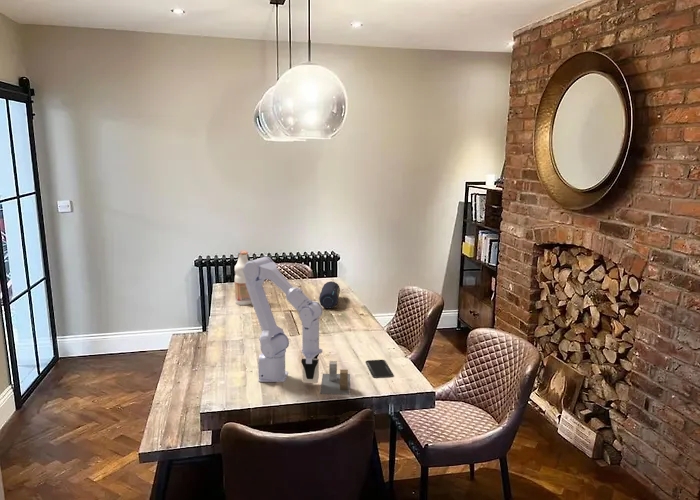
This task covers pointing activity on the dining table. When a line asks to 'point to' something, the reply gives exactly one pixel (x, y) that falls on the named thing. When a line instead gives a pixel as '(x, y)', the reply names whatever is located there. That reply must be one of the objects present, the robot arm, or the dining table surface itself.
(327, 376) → the base board
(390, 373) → the phone
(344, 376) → the bronze post
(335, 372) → the steel post
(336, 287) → the portable speaker
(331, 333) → the dining table surface
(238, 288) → the fruit juice
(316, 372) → the beige block
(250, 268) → the robot arm
